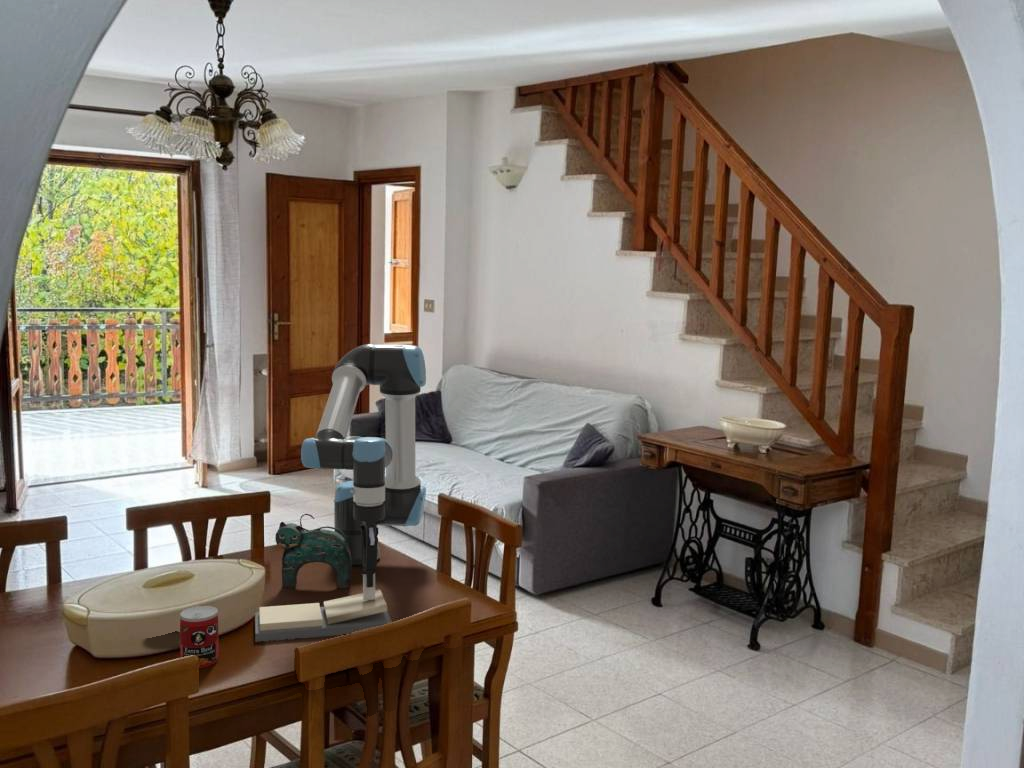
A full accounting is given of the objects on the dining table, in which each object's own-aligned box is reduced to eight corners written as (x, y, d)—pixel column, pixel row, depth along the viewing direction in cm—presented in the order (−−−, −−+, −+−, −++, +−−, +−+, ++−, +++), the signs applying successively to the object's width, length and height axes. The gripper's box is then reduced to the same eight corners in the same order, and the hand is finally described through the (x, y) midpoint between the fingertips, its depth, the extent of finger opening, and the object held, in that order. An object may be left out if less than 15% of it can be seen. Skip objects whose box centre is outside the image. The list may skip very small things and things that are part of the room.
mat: (255, 619, 214) (255, 605, 214) (383, 609, 223) (383, 595, 223) (255, 642, 201) (255, 626, 201) (392, 630, 210) (392, 616, 209)
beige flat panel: (324, 607, 217) (323, 601, 217) (381, 595, 221) (380, 589, 221) (328, 624, 207) (327, 617, 207) (387, 611, 210) (386, 604, 210)
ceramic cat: (274, 589, 236) (274, 515, 234) (280, 581, 242) (279, 509, 240) (349, 590, 237) (350, 516, 235) (353, 582, 243) (353, 510, 241)
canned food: (179, 671, 185) (178, 620, 184) (182, 655, 193) (181, 606, 192) (217, 667, 187) (217, 617, 186) (219, 652, 195) (218, 604, 194)
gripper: (350, 497, 217) (350, 591, 219) (356, 509, 205) (356, 609, 207) (380, 496, 219) (380, 589, 221) (388, 508, 207) (388, 606, 209)
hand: (369, 598), depth 214 cm, fingers closed
